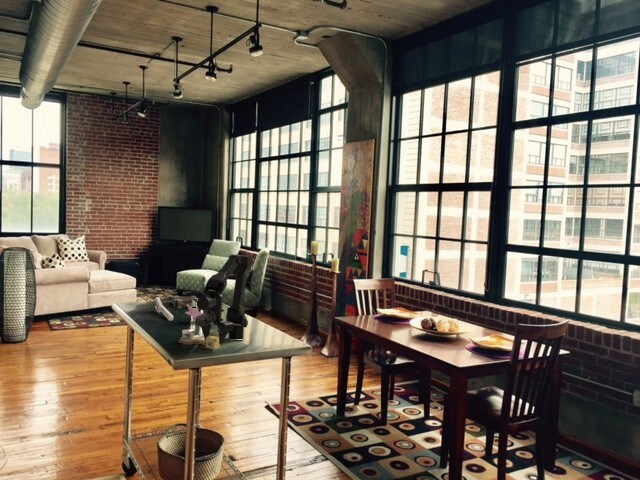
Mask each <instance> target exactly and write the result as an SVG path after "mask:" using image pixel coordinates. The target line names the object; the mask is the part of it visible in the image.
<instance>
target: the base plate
mask: <svg viewBox="0 0 640 480" xmlns="http://www.w3.org/2000/svg"><path fill="white" fill-rule="evenodd" d="M217 330H218V329H215V330H213V329H210V333H209V336H216V337H219V332H218V331H217ZM177 342H178V343H183V344H182V345H192V344H202V345H201V346H206V340H205V338H204V335H197V334H196V335H195V334H194V335H190V339H188V340H186V339H184V335H182V336H181V337H180V338H179V339H178V341H177ZM178 343H177V344H178Z"/></svg>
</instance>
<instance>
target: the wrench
mask: <svg viewBox="0 0 640 480" xmlns="http://www.w3.org/2000/svg"><path fill="white" fill-rule="evenodd" d="M154 302H156V305H155V306H154V308H155V310H156V313H162V314H163V316H164V317H166V319H167V320H168V321H170V322H171V321H174V315H173V314H172V313H171V312H170V311H169V310H168V309H167V308H166V307H165V306H164V305H163V303H162V301H161V297H159V296H157V297H155V298H154Z"/></svg>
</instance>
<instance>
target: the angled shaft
mask: <svg viewBox="0 0 640 480" xmlns="http://www.w3.org/2000/svg"><path fill="white" fill-rule="evenodd" d="M181 335H182V336H183V335H184V339H186V340H188V339H190V335H195V329H194V328H191V329H182V330H181Z"/></svg>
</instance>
